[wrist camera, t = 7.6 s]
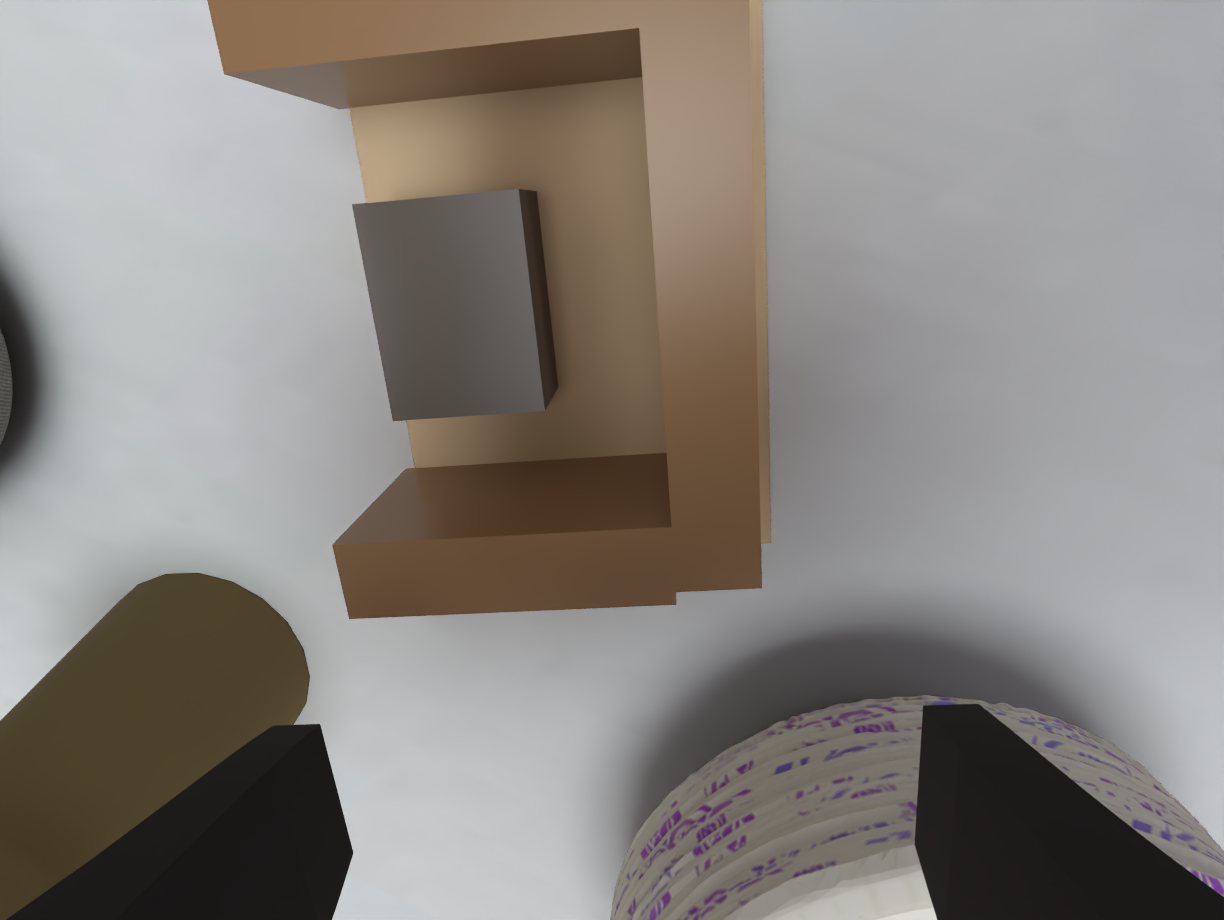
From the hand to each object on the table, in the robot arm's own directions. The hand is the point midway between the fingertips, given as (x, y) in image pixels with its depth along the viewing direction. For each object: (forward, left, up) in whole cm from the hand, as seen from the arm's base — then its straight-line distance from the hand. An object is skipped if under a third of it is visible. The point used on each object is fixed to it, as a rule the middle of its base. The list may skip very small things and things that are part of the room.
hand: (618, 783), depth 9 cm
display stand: (+1, -5, -10) cm, 12 cm away
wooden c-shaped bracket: (+2, -5, -8) cm, 10 cm away
